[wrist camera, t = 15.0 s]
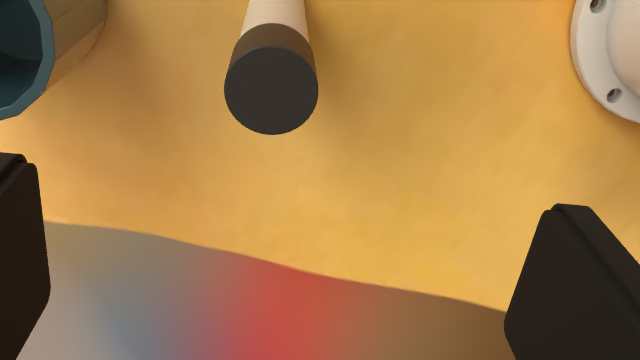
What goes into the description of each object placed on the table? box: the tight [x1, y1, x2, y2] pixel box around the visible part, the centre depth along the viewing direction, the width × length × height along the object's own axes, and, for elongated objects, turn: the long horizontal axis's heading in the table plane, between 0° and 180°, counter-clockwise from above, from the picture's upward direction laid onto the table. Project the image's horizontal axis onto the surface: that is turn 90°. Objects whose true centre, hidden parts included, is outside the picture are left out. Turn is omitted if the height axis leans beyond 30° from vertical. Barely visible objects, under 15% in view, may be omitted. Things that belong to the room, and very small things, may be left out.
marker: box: [224, 0, 318, 135], centre depth 25 cm, size 3×3×14 cm
